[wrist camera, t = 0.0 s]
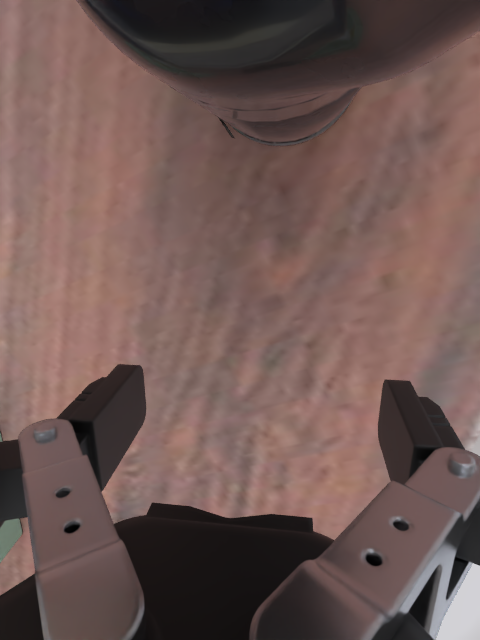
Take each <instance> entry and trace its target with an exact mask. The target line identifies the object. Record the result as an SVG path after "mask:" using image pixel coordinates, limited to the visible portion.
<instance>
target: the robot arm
mask: <svg viewBox="0 0 480 640" xmlns="http://www.w3.org/2000/svg"><path fill="white" fill-rule="evenodd" d="M76 1H77V2H78V3H79V5H80V6H81V8H82V9H83V10H84V12H85V13H86V14H87V16H88V17H89V18H90V19H91V20H92V22H93V23H94V24H95V25H96V26H97V27H98V28H99V30H100V31H101V32H102V33H103V34H104V35H105V36H106V37H107V38H108V39H109V40H110V41H111V42H112V43H113V44H114V45H115V46H116V47H117V48H118V49H119V50H120V51H121V52H122V53H124V54H125V55H126V56H127V57H129V58H130V59H131V60H132V61H134V62H135V63H136V64H137V65H139V66H140V67H141V68H143V69H144V70H146V71H147V72H149V73H150V74H152V75H153V76H155V77H156V78H158V79H159V80H161V81H162V82H164V83H166V84H167V85H169V86H170V87H171V88H173V89H174V90H176V91H178V92H179V93H181V94H182V95H184V96H185V97H187V98H189V99H190V100H192V101H193V102H195V103H197V104H198V105H200V106H202V107H203V108H205V109H206V110H208V111H209V112H211V113H213V114H214V115H216V116H217V117H218V118H219V119H220V121H221V122H222V124H223V125H224V127H225V128H226V130H227V131H228V133H229V134H230V136H231V137H232V138H234V136H233V135H232V133H231V132H230V130H229V129H228V127H227V126H226V124H225V123H224V121H225V122H227V123H228V124H230V125H231V126H232V127H233V128H234V129H235V130H237V131H238V132H239V133H241V134H242V135H244V136H245V137H247V138H249V139H251V140H253V141H256V142H259V143H262V144H266V145H272V146H289V145H295V144H299V143H303V142H305V141H308V140H310V139H312V138H314V137H316V136H318V135H320V134H321V133H323V132H324V131H325V130H327V129H328V128H329V127H330V126H332V125H333V124H334V123H335V122H336V121H337V120H338V119H339V117H340V116H341V115H342V114H343V113H344V111H345V110H346V109H347V107H348V106H349V104H350V103H351V101H352V99H353V98H354V96H355V95H356V94H357V92H358V91H359V90H360V89H361V87H362V86H367V85H371V84H375V83H379V82H382V81H386V80H389V79H393V78H396V77H399V76H401V75H404V74H406V73H409V72H411V71H413V70H415V69H417V68H419V67H421V66H423V65H425V64H427V63H429V62H430V61H432V60H434V59H436V58H437V57H439V56H440V55H442V54H444V53H445V52H447V51H448V50H450V49H452V48H453V47H455V46H456V45H458V44H460V43H461V42H463V41H465V40H466V39H468V38H470V37H471V36H473V35H474V34H476V33H478V32H479V31H480V0H76ZM145 415H146V399H145V387H144V375H143V369H142V367H141V366H140V365H124V364H119V365H117V366H116V367H115V368H114V369H113V371H112V372H111V373H110V374H109V375H108V376H107V377H102V378H100V379H98V380H96V381H94V382H93V383H91V384H89V385H88V386H87V387H86V388H85V389H84V390H83V391H82V394H80V395H79V396H78V397H77V398H76V399H75V401H73V402H72V403H71V404H70V405H69V406H68V407H67V408H66V409H65V410H64V411H63V412H62V413H61V414H60V415H59V416H58V417H57V418H56V419H46V420H42V421H39V422H36V423H33V424H31V425H29V426H28V427H26V428H25V429H24V430H22V431H21V433H20V434H19V436H18V440H11V441H3V442H0V528H1V526H2V525H3V523H4V522H5V521H6V520H12V519H19V518H25V517H28V523H29V531H30V538H31V545H32V552H33V559H34V566H35V574H34V575H32V576H30V577H29V578H27V579H26V580H24V581H23V582H21V583H20V584H18V585H16V586H15V587H13V588H12V589H10V590H9V591H7V592H6V593H4V594H2V595H1V596H0V640H436V637H437V634H438V631H439V628H440V626H441V623H442V620H443V618H444V616H445V614H446V612H447V610H448V608H449V606H450V604H451V603H452V601H453V599H454V597H455V595H456V593H457V592H458V590H459V588H460V586H461V584H462V582H463V581H464V579H465V577H466V575H467V573H468V571H469V569H470V568H471V565H472V563H474V564H477V565H480V456H478V455H476V454H474V453H472V452H470V451H467V450H465V449H464V447H463V445H462V444H461V442H460V440H459V438H458V437H457V435H456V433H455V432H454V430H453V428H452V427H450V423H449V422H448V420H447V418H445V415H444V413H443V411H442V410H441V408H440V406H438V405H437V404H436V403H434V402H433V401H432V400H430V399H429V398H428V397H418V395H417V394H416V392H415V390H414V388H413V386H412V384H411V382H410V381H402V380H385V381H384V383H383V388H382V396H381V405H380V413H379V421H378V438H379V443H380V446H381V450H382V453H383V457H384V460H385V463H386V467H387V470H388V473H389V477H390V480H391V482H390V483H388V484H387V486H386V487H385V488H384V489H383V490H382V491H381V492H380V493H379V494H378V495H377V496H376V497H375V498H374V499H373V500H372V501H371V502H370V503H369V505H368V506H367V507H366V508H365V509H364V510H363V511H362V512H361V513H360V514H359V515H358V516H357V517H356V518H355V519H354V520H353V521H352V523H351V524H350V525H349V526H348V527H347V528H346V529H345V530H344V531H343V532H342V533H341V534H340V535H339V536H338V537H337V538H336V539H335V540H333V539H331V538H329V537H327V536H324V535H322V534H320V533H317V532H314V531H313V521H312V518H307V517H296V516H286V515H275V514H268V515H259V516H249V517H240V518H225V517H222V516H219V515H216V514H212V513H209V512H206V511H203V510H200V509H197V508H194V507H190V506H181V505H171V504H160V503H152V504H151V506H150V508H149V510H148V513H147V515H144V516H138V517H133V518H130V519H126V520H123V521H121V522H118V523H116V524H113V521H112V519H111V516H110V513H109V511H108V508H107V505H106V503H105V500H104V498H103V495H102V492H101V491H103V489H104V487H105V486H106V484H107V483H108V481H109V479H110V478H111V476H112V474H113V473H114V471H115V469H116V468H117V466H118V464H119V463H120V461H121V459H122V458H123V456H124V455H125V453H126V451H127V450H128V448H129V446H130V445H131V443H132V441H133V440H134V438H135V436H136V435H137V433H138V431H139V430H140V428H141V426H142V425H143V423H144V420H145Z"/></svg>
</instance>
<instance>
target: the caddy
mask: <svg viewBox="0 0 480 640" xmlns="http://www.w3.org/2000/svg"><path fill="white" fill-rule="evenodd" d="M0 442H2V437H1V433H0ZM21 535H22V528H21V524H20V519H12V520H6V521H5V522H4V523H3V525H2V526H1V528H0V563H1V561H2V560H3V559H4V557H5V556H6V555H7V553H8V552H9V551H10V549H11V548H12V547H13V545H14V544H15V543H16V541H17V540H18V539H19V537H20V536H21Z"/></svg>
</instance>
